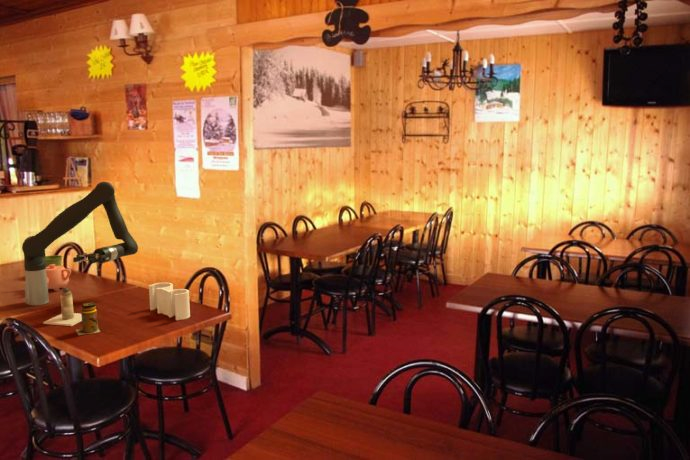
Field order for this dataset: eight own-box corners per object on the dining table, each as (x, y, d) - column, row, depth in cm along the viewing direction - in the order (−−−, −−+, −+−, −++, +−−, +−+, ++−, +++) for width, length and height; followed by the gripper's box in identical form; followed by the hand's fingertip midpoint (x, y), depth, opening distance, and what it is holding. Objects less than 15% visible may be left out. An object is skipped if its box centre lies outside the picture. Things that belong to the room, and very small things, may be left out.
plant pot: (67, 273, 339) (66, 255, 337) (58, 278, 327) (56, 259, 325) (47, 273, 338) (46, 254, 336) (37, 278, 327) (35, 259, 325)
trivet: (43, 323, 251) (43, 322, 250) (64, 313, 264) (64, 312, 264) (71, 326, 248) (71, 324, 248) (91, 316, 261) (91, 314, 261)
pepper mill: (59, 319, 254) (57, 288, 252) (66, 316, 259) (64, 285, 256) (69, 320, 253) (66, 289, 251) (76, 316, 258) (73, 286, 255)
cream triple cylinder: (195, 316, 262) (194, 291, 260) (176, 321, 255) (174, 295, 253) (167, 305, 279) (166, 281, 277) (148, 309, 272) (147, 285, 270)
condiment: (100, 332, 241) (98, 304, 239) (78, 335, 237) (76, 308, 235) (97, 327, 247) (95, 300, 245) (75, 330, 243) (73, 303, 241)
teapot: (43, 295, 294) (41, 269, 292) (31, 288, 305) (29, 264, 303) (75, 289, 306) (73, 264, 304) (62, 283, 317) (60, 259, 315)
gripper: (93, 245, 279) (68, 251, 264) (117, 248, 275) (94, 254, 260) (93, 260, 280) (69, 267, 265) (118, 263, 276) (94, 270, 261)
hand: (81, 260), depth 262 cm, fingers open, 8 cm apart
